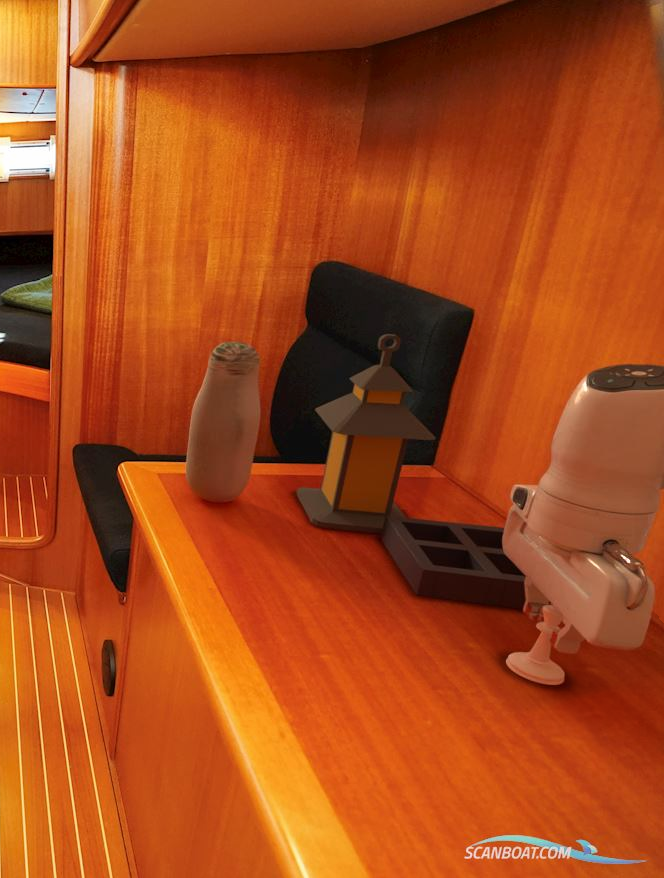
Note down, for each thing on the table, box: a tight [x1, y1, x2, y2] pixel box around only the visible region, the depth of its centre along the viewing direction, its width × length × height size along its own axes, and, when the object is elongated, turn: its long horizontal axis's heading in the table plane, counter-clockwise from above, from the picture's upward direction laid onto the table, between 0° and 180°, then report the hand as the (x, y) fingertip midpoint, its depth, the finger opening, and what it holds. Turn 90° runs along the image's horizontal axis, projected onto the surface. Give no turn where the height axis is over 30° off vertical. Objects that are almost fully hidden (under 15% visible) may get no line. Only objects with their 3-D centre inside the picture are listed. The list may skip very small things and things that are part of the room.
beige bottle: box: [185, 341, 261, 504], centre depth 118 cm, size 10×10×28 cm
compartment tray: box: [379, 516, 552, 610], centre depth 97 cm, size 16×16×4 cm
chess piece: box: [505, 603, 566, 686], centre depth 77 cm, size 5×5×10 cm
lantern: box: [296, 333, 437, 535], centre depth 111 cm, size 14×14×30 cm
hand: (547, 632), depth 77 cm, fingers open, 5 cm apart
